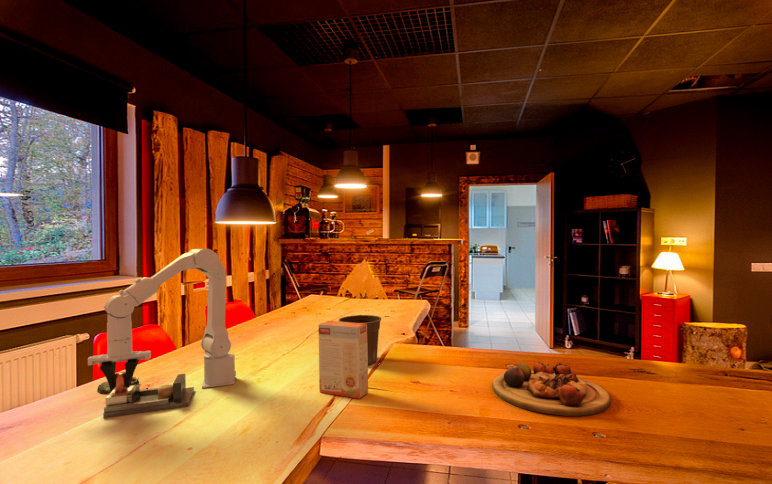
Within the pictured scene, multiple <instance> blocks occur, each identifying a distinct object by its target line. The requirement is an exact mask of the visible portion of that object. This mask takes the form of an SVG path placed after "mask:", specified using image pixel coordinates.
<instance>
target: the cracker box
mask: <svg viewBox="0 0 772 484" xmlns="http://www.w3.org/2000/svg"><path fill="white" fill-rule="evenodd" d="M368 365H369V364H368V349H367V324H363V323H350V322H339V321H337V320H335V321H333V320H326V321H324V322H320V323H319V324H318V375H319V376H318V377H319V378H318V379H319V381H318V382H319V385H318V387H319V393H323V394H329V395H334V396H335V395H336V396H341V397H346V398H353V399H357V400H358V399H359V400H360V399H361V398H362V397H364V396H365V395H366V394H368V393H369V369H368V368H369V366H368Z"/></svg>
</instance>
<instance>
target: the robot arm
mask: <svg viewBox="0 0 772 484" xmlns="http://www.w3.org/2000/svg"><path fill="white" fill-rule="evenodd" d="M186 270H187V271H188V270H198V271H200V272H201V273H202V274H204V275H205V276H206V277H207V278H208V283H207V286H208V287H207V317H206V318H207V321H206V322H207V323H206V327H205V329H204V332H203V333H204V335H203V337H202V339H201V342H200V346H201V349H202V350H203V351H204V354H203V375H204V376H203V382H202V384H201V389H202V388H203V389H204V388H205V389H206V388H212V387H213V388H215V387H222V386H230V385H235V379H236V375H237V374H236V373H237V372H236V370H235V369H236V368H235V367H236V363H235V358H236V357H235V353H229V352H230V351H231V347H232V344H231V340H230V338H229V332H228V329H227V328H226V292H227V291H226V289H227V287H226V286H227V271H226V269H225V266H224V264H223V263H222V261H221V260H220V256H219V254H218V253H216V252H215V251H213V250H212V249H210V248H192V249H190V250H189V251H188V252H185V253H183V254H181V255H180V256H178V257H177V258H176V259H174V260H173V261H171V262H170V263H168V264H166V266H164V267H163V268H162V269H160V270H159V271H158V272H157V273H154V275H152V276H151V277H146V276H145V277H142V278H140V277H139V278H136V279H134V283H133V284H130V286H128V287H126V288H125V289H120V290H119V291H118V294H117V295H113V296H110V297H108V299H107V301H106V302H105V305H104V306H103V307H104V310H105V312H106V313H107V316H106V317H107V319H106V320H107V323H106V340H107V341H106V342H107V344H106V345H107V349H106V350H107V351H106V354H99V355H91V356H89V357H88V358H87V366H93V365H99V364H100V366H99V369H100V371H101V372H102V374H103V375H104V376H105V379H106V382H107V381H108V383H109V387H110V390H112V389H114V388H115V384H114V374H116V369H117V368H116V367H117V363H119V362H125V363H124V369H125V371H124V372H126V388H129V387H130V386H131V381H132V377H134V373H135V371H136V368H137V366H138V364H139V362H140V361H141V360H144V361H145V360H150V359H151V355H152V353H151V352H152V351H151V350H145V351H144V350H143V351H142V350H140V351H137V350H136V351H134V350H133V321H132V313H133V312H134V310H135V307H139V306H140V305H141V304H142V303H144V302H145V301H147V300H148V299H150V298H151V297H152V296H154V295H155V294H157V293H158V290H159V286H161V285H162V284H164V283H165V282H168V280H170V279H171V278H173V277H175V276H176V275H177V274H179V273H181V272H182V271H186Z"/></svg>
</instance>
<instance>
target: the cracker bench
mask: <svg viewBox="0 0 772 484" xmlns="http://www.w3.org/2000/svg"><path fill="white" fill-rule="evenodd" d="M186 382H187V381H186V373H180V374H177V375H176V377H175V380H174V382H173V383H172V385H173V398H171V399H169V398H168V399H160V400H158V388H159V387H155V388H148V389H140V395H139V397H138V398H137V399H136V401H135V402H134V403H129V404H122V405H114V406H106V405H105V406H104V408H103V415H102V417H103V419H106V418H114V417H121V416H128V415H129V416H130V415H136V414H141V413H142V414H144V413H150V412H157V411H165V410H170V409H179V408H187V407H189V405H190V403H191V400H192V398H193V394H194V391H195V387H194V386H191V387H187V384H186Z"/></svg>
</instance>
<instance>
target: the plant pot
mask: <svg viewBox="0 0 772 484" xmlns="http://www.w3.org/2000/svg"><path fill="white" fill-rule="evenodd" d="M381 321H382V317H380V316H378V315H372V314H371V315H370V314H359V315H358V314H356V315H347V316H343V317H341V318H338V322H350V323H363V324H367V349H368V365H371V364H374V363H375V362H377V361H378V345H379V335H380V334H379V330H380V328H381Z"/></svg>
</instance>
